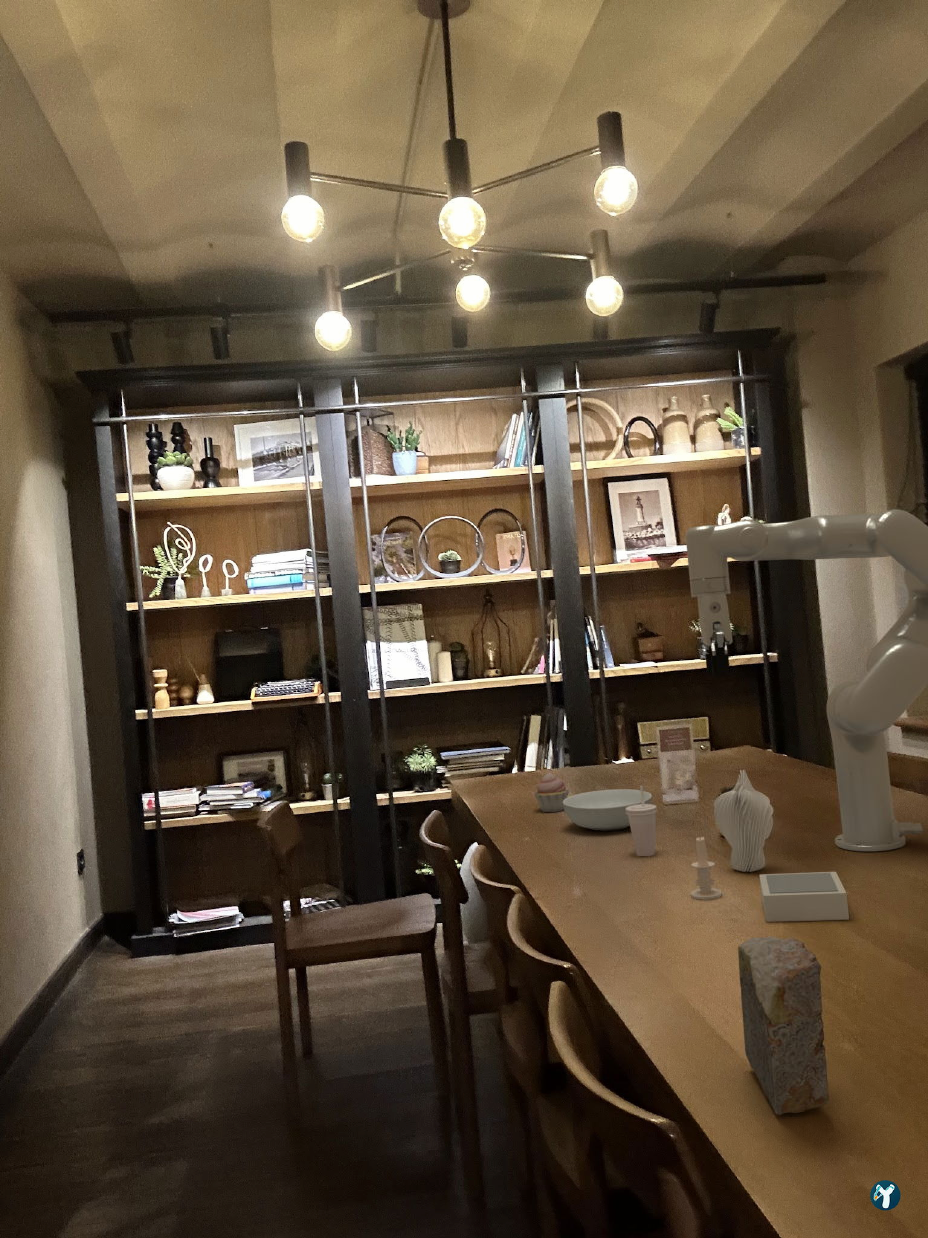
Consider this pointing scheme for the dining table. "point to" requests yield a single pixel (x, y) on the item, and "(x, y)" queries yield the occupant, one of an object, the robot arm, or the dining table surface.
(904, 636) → the robot arm
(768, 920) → the plinth
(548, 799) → the cupcake
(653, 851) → the smoothie
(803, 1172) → the dining table surface
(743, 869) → the shell sculpture
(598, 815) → the serving bowl
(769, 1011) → the geological specimen
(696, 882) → the candle
